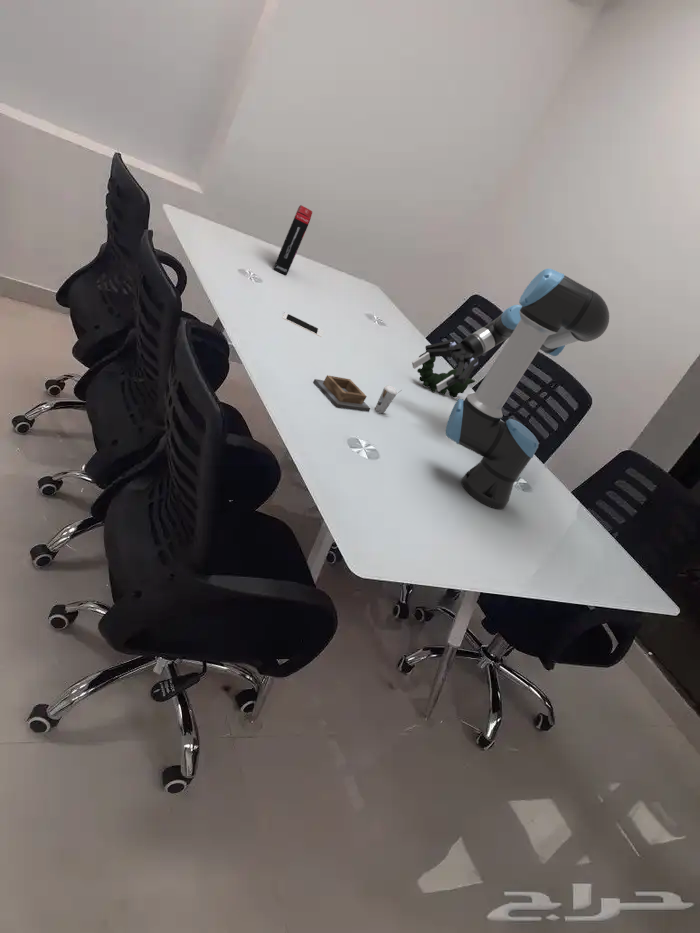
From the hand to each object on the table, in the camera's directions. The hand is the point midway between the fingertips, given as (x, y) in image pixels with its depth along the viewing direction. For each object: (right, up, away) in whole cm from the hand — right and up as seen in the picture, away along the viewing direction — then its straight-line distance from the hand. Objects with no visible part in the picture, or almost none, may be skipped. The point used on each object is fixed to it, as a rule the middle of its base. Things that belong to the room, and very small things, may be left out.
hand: (424, 376), depth 233 cm
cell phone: (-42, +23, +36) cm, 60 cm away
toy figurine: (+10, 0, +45) cm, 46 cm away
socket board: (-27, -7, -7) cm, 29 cm away
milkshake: (-15, -12, -1) cm, 19 cm away
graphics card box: (-55, +59, +87) cm, 119 cm away
